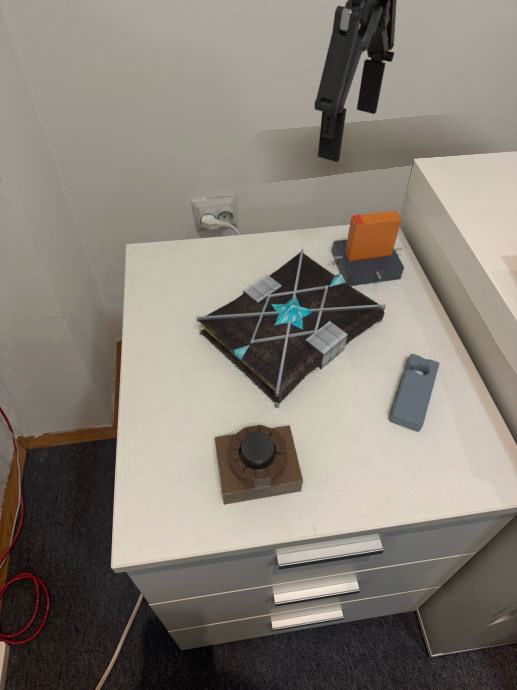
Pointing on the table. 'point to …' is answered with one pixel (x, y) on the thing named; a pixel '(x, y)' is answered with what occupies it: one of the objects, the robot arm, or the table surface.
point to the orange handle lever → (372, 235)
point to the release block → (258, 482)
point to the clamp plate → (366, 266)
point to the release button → (257, 449)
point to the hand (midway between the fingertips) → (348, 133)
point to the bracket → (414, 393)
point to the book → (290, 324)
